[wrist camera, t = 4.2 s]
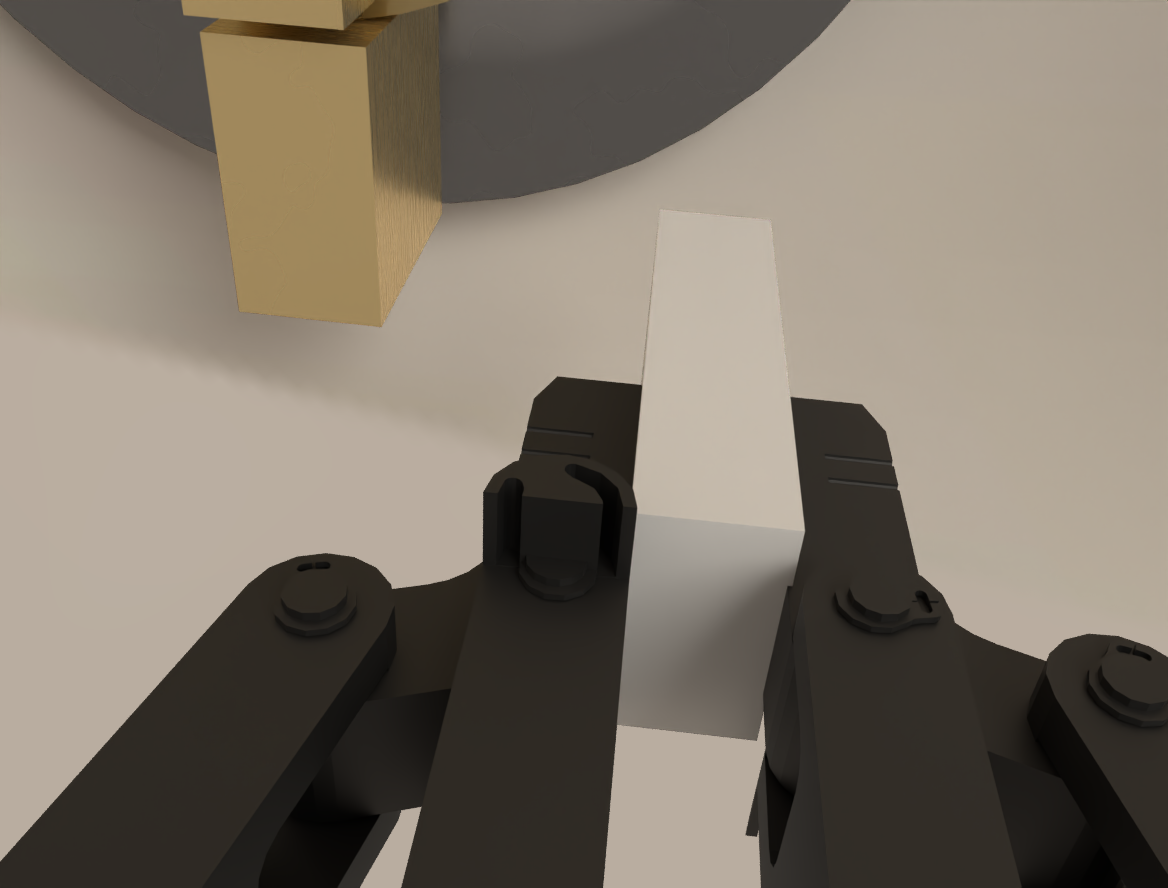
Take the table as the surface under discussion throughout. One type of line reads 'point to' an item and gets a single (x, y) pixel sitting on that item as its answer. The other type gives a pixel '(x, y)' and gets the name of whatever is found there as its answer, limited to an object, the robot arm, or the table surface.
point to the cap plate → (488, 75)
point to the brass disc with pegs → (324, 148)
